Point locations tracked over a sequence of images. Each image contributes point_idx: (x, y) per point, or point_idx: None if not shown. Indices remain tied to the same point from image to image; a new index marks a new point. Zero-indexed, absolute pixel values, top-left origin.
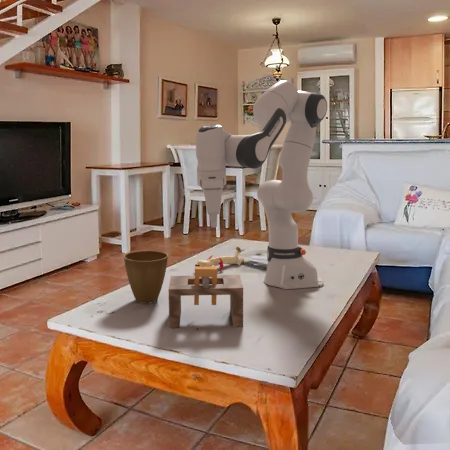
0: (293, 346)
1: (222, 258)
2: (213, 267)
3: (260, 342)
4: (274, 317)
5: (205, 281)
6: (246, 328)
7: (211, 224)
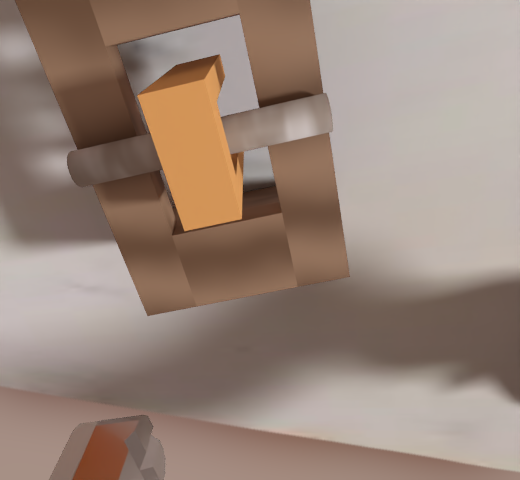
0: (78, 363)
1: None
2: (217, 203)
3: (73, 294)
4: (270, 312)
5: (81, 170)
6: None
7: (65, 459)
